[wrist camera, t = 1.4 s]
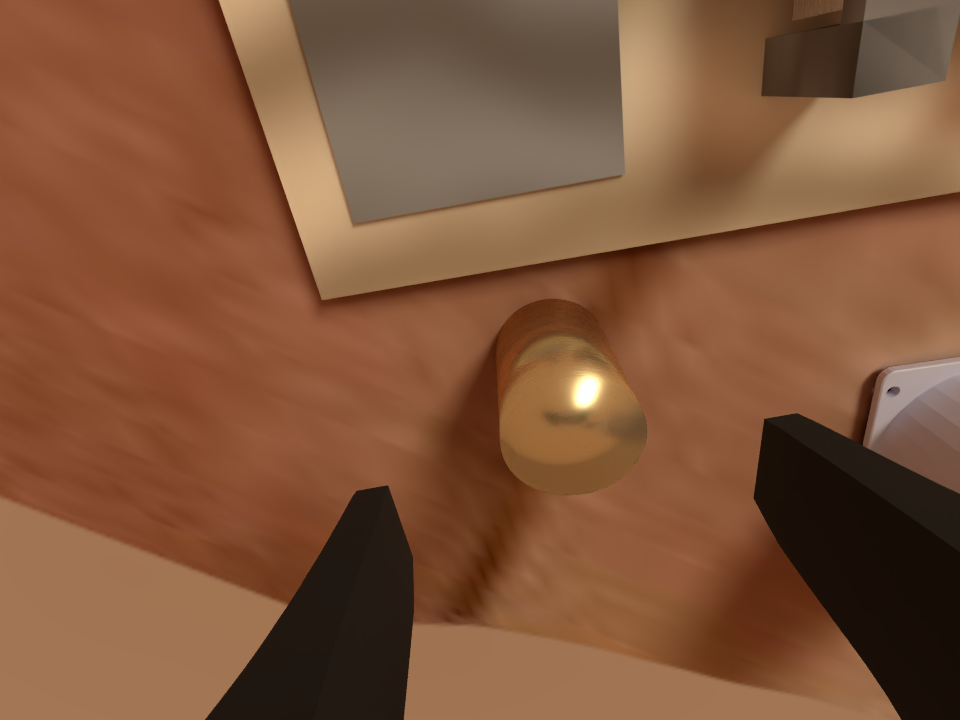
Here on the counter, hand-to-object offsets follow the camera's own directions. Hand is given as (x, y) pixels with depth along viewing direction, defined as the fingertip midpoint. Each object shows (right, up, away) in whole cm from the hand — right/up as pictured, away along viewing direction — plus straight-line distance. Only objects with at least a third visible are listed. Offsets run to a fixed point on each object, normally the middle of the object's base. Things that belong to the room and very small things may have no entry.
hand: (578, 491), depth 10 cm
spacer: (+1, +3, +11) cm, 11 cm away
